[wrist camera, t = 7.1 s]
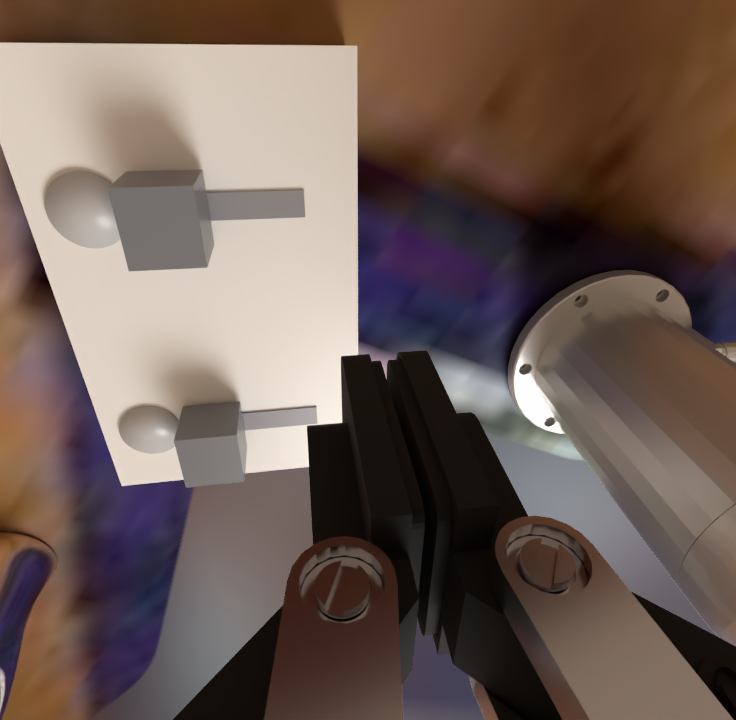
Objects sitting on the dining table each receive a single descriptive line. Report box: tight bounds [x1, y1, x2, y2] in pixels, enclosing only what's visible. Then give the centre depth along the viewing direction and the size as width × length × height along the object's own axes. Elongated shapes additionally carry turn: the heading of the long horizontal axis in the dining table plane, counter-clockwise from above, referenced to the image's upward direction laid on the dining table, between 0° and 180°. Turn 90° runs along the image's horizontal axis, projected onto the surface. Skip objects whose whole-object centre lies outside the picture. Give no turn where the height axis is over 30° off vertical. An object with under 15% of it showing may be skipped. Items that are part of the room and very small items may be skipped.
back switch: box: [174, 402, 247, 488], centre depth 27 cm, size 3×3×3 cm
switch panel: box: [0, 42, 358, 486], centre depth 26 cm, size 14×22×4 cm, turn 179°
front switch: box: [107, 170, 214, 271], centre depth 20 cm, size 3×3×3 cm
